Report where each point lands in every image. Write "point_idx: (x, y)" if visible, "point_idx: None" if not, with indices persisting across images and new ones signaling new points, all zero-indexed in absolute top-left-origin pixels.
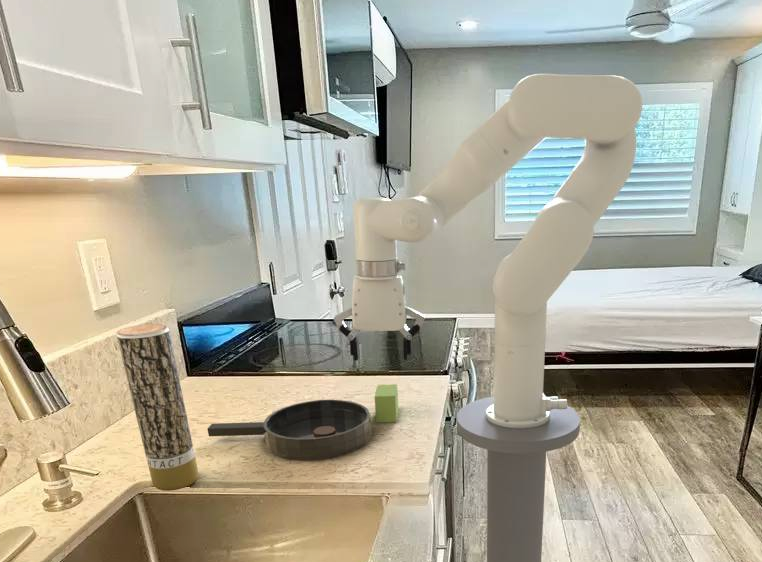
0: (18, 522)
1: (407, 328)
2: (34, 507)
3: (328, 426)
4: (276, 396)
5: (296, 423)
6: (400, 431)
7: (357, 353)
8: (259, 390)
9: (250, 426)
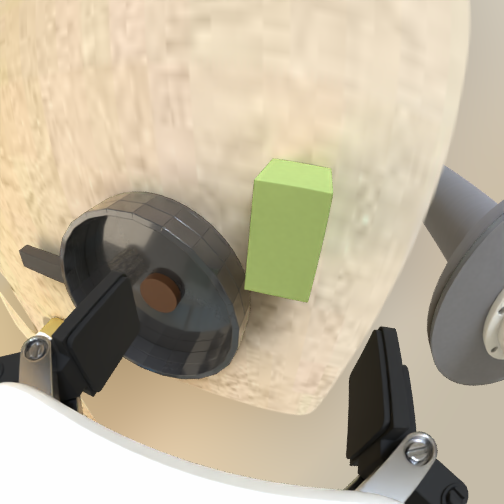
0: (30, 336)
1: (401, 493)
2: (22, 322)
3: (160, 283)
4: (42, 55)
5: (99, 222)
6: (313, 305)
7: (126, 345)
8: (22, 32)
9: (57, 278)
